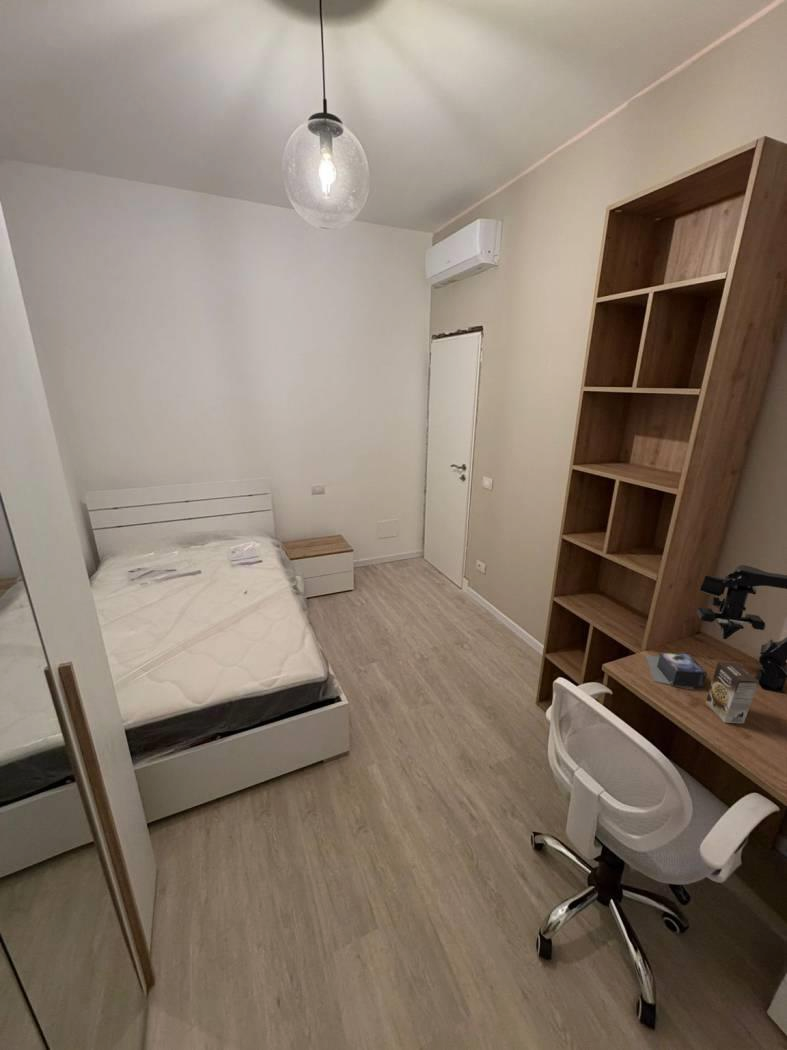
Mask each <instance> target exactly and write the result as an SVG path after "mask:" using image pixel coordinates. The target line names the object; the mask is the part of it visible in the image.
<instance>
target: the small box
mask: <svg viewBox="0 0 787 1050" xmlns="http://www.w3.org/2000/svg"><path fill="white" fill-rule="evenodd" d="M658 657H659V661H658V665H657V667H658V668H659V669H660V671H661V672H662V673H663V674H664V676H665V677H666V678H667V680H668V681H669V682H670V683H671V685H670V686H672V685H678V686H693V687H700V688H703V687H704V686H705V685H704V684H705V681H706V678H707V674H708V673H707V671H706V669H704V668H703V667H702V666H701V664H699V663H698V661H697V660H696V659H694V657H693V656H692V655H691V654H688V653H670V652H669V653H666V652H660V654H659V656H658Z"/></svg>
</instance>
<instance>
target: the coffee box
mask: <svg viewBox="0 0 787 1050" xmlns="http://www.w3.org/2000/svg"><path fill="white" fill-rule="evenodd" d="M758 685H759V681H758V680H757V679H756V678H755V676H754V675H752V674H751V673H750V672H748V670H746V669H745V668H744V667H743V666H742V665H741V664H740V663H738V662H728V661H717V663H716V666H715V671H714V675H713V677H712V680H711V684H710V687H709V691H708V694H707V697H706V699H705V700H706V701H705V704H706V705H707V706H708V707H709V708H710V709H711V710H712V711H713V713H715V714H716V715H717V716H718V717H719V718H720V719H721V721H722V722H724V723H725V724H745V721H746V719H747V715H748V713H749V709H750V708H751V705H752V702H753V700H754V699H753V698H754V696H755V694H756V691H757V688H758Z"/></svg>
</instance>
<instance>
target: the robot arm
mask: <svg viewBox="0 0 787 1050" xmlns="http://www.w3.org/2000/svg"><path fill="white" fill-rule="evenodd" d="M761 586H762V587H763V586H764V587H765V586H766V587H772V588H779V589H785V590H787V574H781V573H773V572H768V571H764V570H763V569H759V568H758V567H753V566H749V565H745V564H743V565H742V564H741V565H738V566H735V568H734V569H733V570H732V572H731V573H729V574H727V575H725V576H724V578H723V577H718V576H714V575H712V574H708V573H706V574H705V576H704V578H703V581H702V584H701V586H700V590H699V592H701V593H704V594H706V595H707V594H708V595H712V596H711V599H710V603H709V604H710V605H711V606H714V607H715V609H717V611H718V612H715V611H713V610H712V608H709V607H702V606H700V607H698V608H697V611H696V614H697V616H698V618H699V620H701V621H702V622H703V621H704V622H709V623H713V622H715V621H716V622H717V624H718V625H719V626H720V632H721V638H722V640H727V639H729V637H731V636H732V635H733V634H735V633H736V632H738V631H740V630H744V629H745V626H744V625H743V624H744V623H745V624H751V625H750V626H751V627H752V628H753V629H754V630H761V631H765V628H766V622H765V621H764V620H763V619H762V618H761V617H760V616H759V615H756V614H749V613H746V614H745V615H744V616H743V612H744V611H746V609H747V607H746V603H747V600H748V597H749V594H751V595H757V591H758V590H757V588H756V587H761ZM726 588H727V591H726ZM725 591H726V594H725ZM724 594H725V597H724V598H723V599H720V598H719V597H721V596H724ZM758 660H759V661H758V662H759V663H760V665H761V667H760V669H758V670H757V673H756V675H755V676H754V678H756V679H757V680H758V681H759V683H758V685H759V687H760V688H761V689H762V690H768V691H772V692H778V693H783V694H785V693H786V691H785V689H784V687H785V684H786V682H787V636H786V637H784V638H783V639H781V640H779V641H774V640H773V639H769V640H768V641H767V642H766V643H764V644H761V647H760V652H759V657H758Z"/></svg>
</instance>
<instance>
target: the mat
mask: <svg viewBox="0 0 787 1050" xmlns="http://www.w3.org/2000/svg"><path fill="white" fill-rule="evenodd" d="M645 655H646V656H645V658H647V659H646V661H648V662H647V664H649V665H648V667H650V668H649V670H650V673H651V674H650V675H651V677H652V680H653V682H654V683H658V684H663V685H668V686H671V687H672V686H673V687H678V688H682V689H687V690H691V691H694V690H695V688H694V686H678V685H671V683H670V682H669V681H668V680H667V678H666V677H665V676H664V674H663V673H662V672H661V671H660V669H659V668H658V667H657V665H658V661H659V657H660V656H654V655H649V654H645Z"/></svg>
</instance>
